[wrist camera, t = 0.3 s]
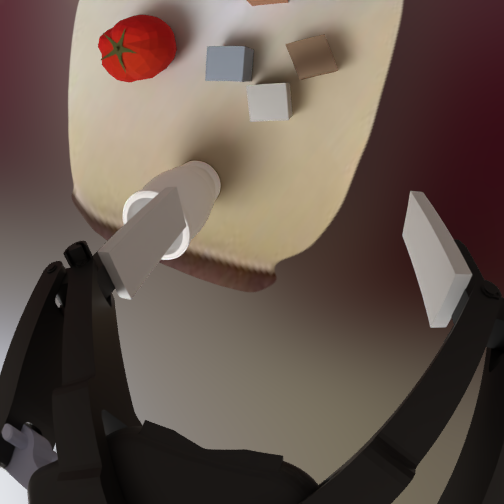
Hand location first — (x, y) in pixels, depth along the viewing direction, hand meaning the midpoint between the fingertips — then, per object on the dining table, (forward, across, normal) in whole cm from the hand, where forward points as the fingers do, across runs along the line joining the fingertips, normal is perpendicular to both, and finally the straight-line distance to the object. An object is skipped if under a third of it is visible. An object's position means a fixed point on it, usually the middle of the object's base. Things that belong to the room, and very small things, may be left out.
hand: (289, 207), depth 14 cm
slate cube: (+27, -10, +10) cm, 30 cm away
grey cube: (+27, -5, +4) cm, 28 cm away
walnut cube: (+27, +1, +10) cm, 29 cm away
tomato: (+27, -23, +16) cm, 39 cm away
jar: (+27, -19, -9) cm, 34 cm away
